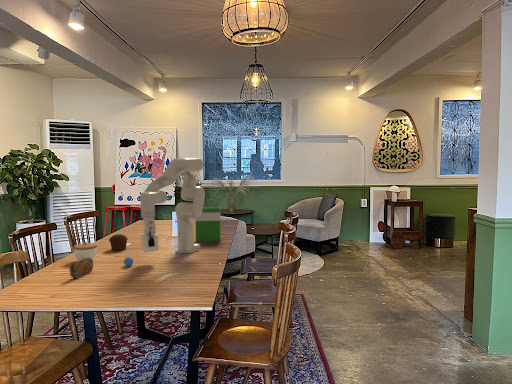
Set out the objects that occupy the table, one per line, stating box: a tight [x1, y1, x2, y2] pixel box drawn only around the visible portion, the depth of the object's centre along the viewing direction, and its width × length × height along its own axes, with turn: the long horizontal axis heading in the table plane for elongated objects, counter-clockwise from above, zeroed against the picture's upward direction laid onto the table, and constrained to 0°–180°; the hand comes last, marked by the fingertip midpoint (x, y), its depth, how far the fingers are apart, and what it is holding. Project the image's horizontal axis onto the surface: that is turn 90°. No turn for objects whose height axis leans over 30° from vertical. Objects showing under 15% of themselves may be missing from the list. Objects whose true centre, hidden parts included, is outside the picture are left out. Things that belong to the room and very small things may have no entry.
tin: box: [69, 258, 94, 279], centre depth 187 cm, size 15×3×8 cm, turn 168°
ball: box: [123, 256, 134, 267], centre depth 205 cm, size 5×5×5 cm
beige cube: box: [140, 233, 160, 253], centre depth 210 cm, size 8×8×9 cm
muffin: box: [108, 233, 128, 252], centre depth 246 cm, size 12×11×10 cm
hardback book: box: [195, 206, 222, 242], centre depth 275 cm, size 18×7×24 cm, turn 93°
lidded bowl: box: [73, 241, 98, 261], centre depth 217 cm, size 13×13×11 cm
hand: (149, 244), depth 210 cm, fingers closed on beige cube, 7 cm apart
